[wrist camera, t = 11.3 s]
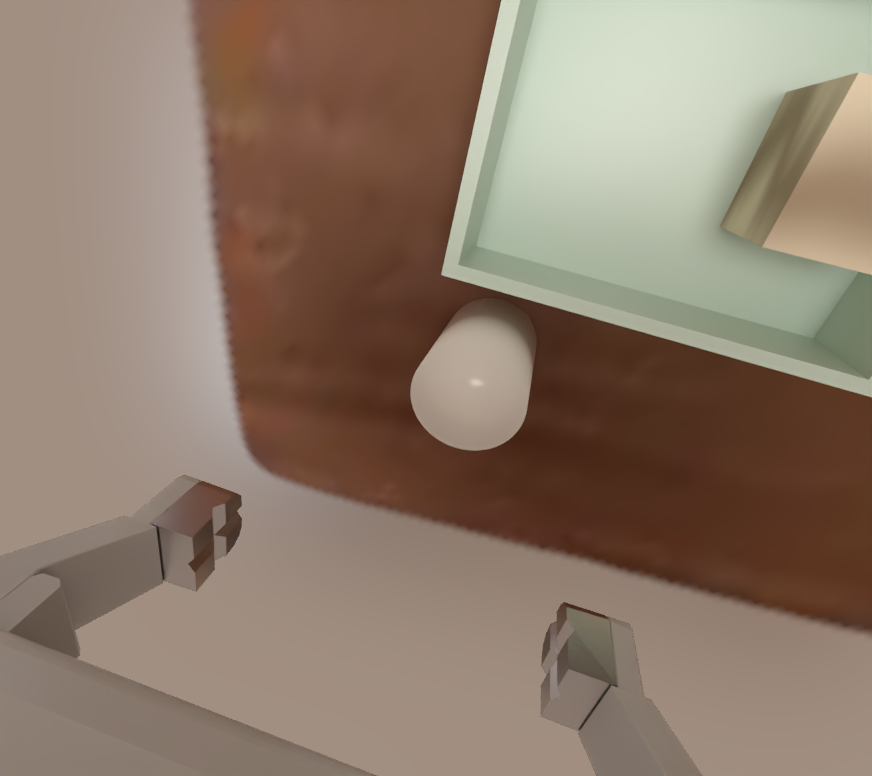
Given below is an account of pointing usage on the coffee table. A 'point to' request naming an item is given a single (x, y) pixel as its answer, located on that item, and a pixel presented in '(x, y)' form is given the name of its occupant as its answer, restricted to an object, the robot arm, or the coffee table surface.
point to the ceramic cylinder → (477, 376)
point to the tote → (658, 174)
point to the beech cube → (813, 177)
